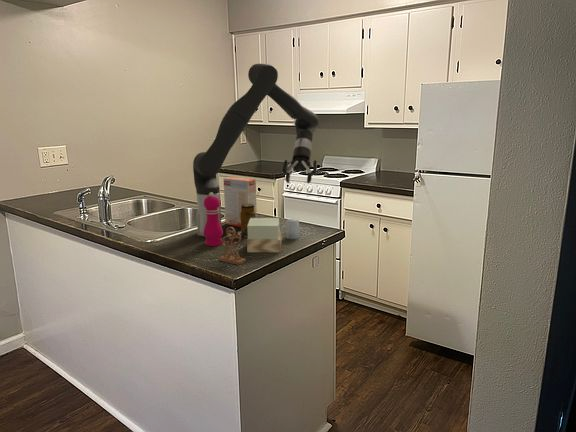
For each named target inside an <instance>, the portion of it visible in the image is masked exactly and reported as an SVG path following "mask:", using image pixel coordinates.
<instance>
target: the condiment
mask: <svg viewBox="0 0 576 432" xmlns="http://www.w3.org/2000/svg"><path fill="white" fill-rule="evenodd" d="M241 210H242V211H241V227H240V231H236V234H238V233H239V234H241V237H242V236H243V237H244V238H248V228H247V226H248V223H249V220H250V218H255V217H256V216H255V211H254V205H253V204H243V205H242V206H241Z"/></svg>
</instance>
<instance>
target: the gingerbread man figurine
mask: <svg viewBox="0 0 576 432" xmlns="http://www.w3.org/2000/svg"><path fill="white" fill-rule="evenodd" d="M225 232H226V236H224V237H222V244H221V245H222V246H227V248H226V250H225V252H224V255H222V256H220V257H218V260H219V261H220V262H224V263H229V264H234V265H238V266H240V265H243V264H244V263H246V262H247V260H246V258H245V257H244V258H243V257H241V256H240V254H239V252H238V250H237V249H238V248H237V247H236V244H238V243H240V242H241V240H242V235H241V234H239V233H237V231H236V229H235V228H234V227H233V226H229V227H227V228H226V231H225ZM226 238H228V240H225V239H226ZM235 239H238V241H234V240H235ZM233 241H234V242H233ZM230 248H231V250H230V252H229V253H228V251H229V249H230ZM233 249H234V250H233ZM234 251H235V252H234ZM235 253H236V254H235Z"/></svg>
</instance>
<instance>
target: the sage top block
mask: <svg viewBox="0 0 576 432" xmlns="http://www.w3.org/2000/svg"><path fill="white" fill-rule="evenodd" d="M247 228H248V237H247V238H248V239H279V230H280V217H257V218H250V220H249V223H248V226H247Z"/></svg>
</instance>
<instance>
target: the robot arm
mask: <svg viewBox="0 0 576 432" xmlns="http://www.w3.org/2000/svg"><path fill="white" fill-rule="evenodd" d="M247 75H248V80H249V82H250V83H251V84H252V85H251V86H250V88H249V89H248V91H247V92H246V93H245V94H244V95H242V96H241V97H239V98H238V99H237V100H236V101H235V102H233V104H232V105H231V106H230V107H229V108H228V110H227V111H226V113H225V115H224V116H223V117H222V119H221V121H220V124H219V127H218V130H217V133H216V136H215V139H214V140H213V142H212V143H211V145H210V146H209V148H208V149H206V151H205V152H204V151H203V152H199V153H197V154H196V155H195V157H194V158H193V160H192V161H193V162H192V171H193V180H194V181H193V183H194V186H195V192H196V205H197V208H196V209H197V211H196V213H195V214H196V229H197V230H196V231H197V236H200V237H205V236H204V228H205V225H206V222H207V214H206V211H205V210H206V208H205V206H204V200H205V198H207V197H209V193H210V192H212V193H213V194H214V196H215V197H217V198H218V199H219V201H220V202H221V195H220V194H221V192H220V191H221V190H220V185H219V182H218V179H217V174H218V173H219V172H220V170H221V168H222V167H223V165H224V162H225V161H226V158H227V156H228V154H229V152H230V151H231V149H232V148H233V146H234V145H235V144H236V142H237V140H239V137H240V136H241V134H242V133H243V131H245V128H247V125H248V124H249V122H250V120H251V119H252V117H253V115H254V114H255V113H256V111H257V109H258V108H259V106H260V105H261V103H262V102H263V101H264V99H266V97H269V98H271V100H273V102H275V103H276V104H277V105H278V106H279V107H280V108H281V109H282V110H283V111H284V113H286V114H287V115H288V116H289V118H291V120H295V121H294V127H295V132H296V136H295V137H296V138H295V144H294V147H293V153H292V159H291V161H288V160H286V159H285V160H284V161H283V166H282V174H283V176H285V182H286V183H287V184H289V183H290V179H291V175H292V174H294V173H296V172H297V173H298V172H305V173H306V174H307V178H306V183H307V184H310V183H311V182H312V176H317V174H318V172H317V171H318V170H317V169H318V164H317V163H318V162H317V160H316V159H315V160H314V161H311V156H312V144H313V143H312V142H313V132H312V129H315V128H317V127H318V126H319V118H318V116H317V114H316V113H315V112H313V111H312V110H310V109H309V108H307V107H306V106H303V105H302V104H301V102H300V101H298V100H297V99H296V98H295V97H294V96H293V95H292V94H291V93H290V92H288V91H286V90H285V89H284V88H282V87H281V86H280V85H279V84H277V82H278V79H279V73H278V70H277V68H276V67H275V66H274V65H272V64H268V63H267V64H266V63H254V64H252V66H251V67H249V69H248V73H247ZM310 167H313V168H312V169H313V170H311V169H310ZM218 209H219V213H218V220H219V222H220V225H221V226H222V214H221V213H222V212H221V205H220V206H219V207H218Z"/></svg>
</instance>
